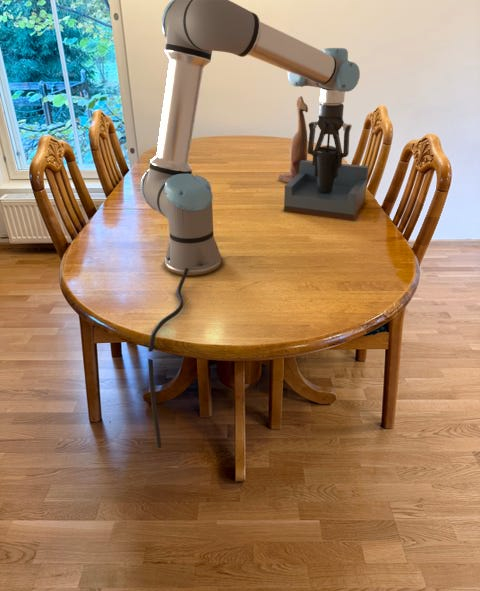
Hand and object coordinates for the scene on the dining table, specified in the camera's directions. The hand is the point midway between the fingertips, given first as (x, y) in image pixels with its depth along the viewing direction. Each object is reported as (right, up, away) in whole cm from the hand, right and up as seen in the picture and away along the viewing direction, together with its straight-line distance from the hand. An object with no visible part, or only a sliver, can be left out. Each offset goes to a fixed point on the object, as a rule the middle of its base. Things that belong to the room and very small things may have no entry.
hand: (326, 176), depth 164 cm
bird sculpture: (-6, +6, +33) cm, 34 cm away
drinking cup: (0, -4, +3) cm, 5 cm away
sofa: (+1, -9, +7) cm, 12 cm away
